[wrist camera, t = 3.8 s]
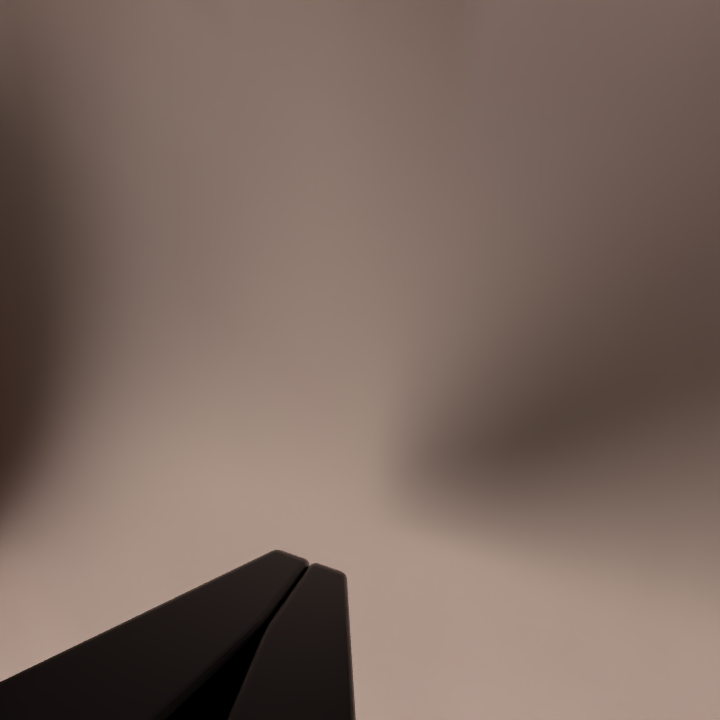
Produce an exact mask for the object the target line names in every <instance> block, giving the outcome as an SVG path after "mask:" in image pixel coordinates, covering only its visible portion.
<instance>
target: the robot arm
mask: <svg viewBox="0 0 720 720" xmlns="http://www.w3.org/2000/svg"><path fill="white" fill-rule="evenodd" d="M0 720H356V719H355V703H354V686H353V670H352V654H351V638H350V622H349V606H348V589H347V578H346V575H345V574H344V573H343V572H341V571H338V570H335V569H333V568H330V567H327V566H324V565H321V564H318V563H314V564H311V565H310V566H309V562H308V561H307V560H306V559H304V558H301V557H298V556H296V555H293V554H290V553H287V552H284V551H281V550H274V551H271V552H269V553H267V554H265V555H263V556H261V557H259V558H257V559H255V560H252V561H250V562H248V563H246V564H244V565H242V566H240V567H238V568H236V569H234V570H232V571H230V572H228V573H225V574H223V575H221V576H219V577H217V578H215V579H213V580H211V581H209V582H207V583H205V584H203V585H201V586H199V587H196V588H194V589H192V590H190V591H188V592H186V593H184V594H182V595H180V596H178V597H176V598H174V599H172V600H169V601H167V602H165V603H163V604H161V605H159V606H157V607H155V608H153V609H151V610H149V611H147V612H145V613H143V614H140V615H138V616H136V617H134V618H132V619H130V620H128V621H126V622H124V623H122V624H120V625H118V626H116V627H113V628H111V629H109V630H107V631H105V632H103V633H101V634H99V635H97V636H95V637H93V638H91V639H89V640H87V641H84V642H82V643H80V644H78V645H76V646H74V647H72V648H70V649H68V650H66V651H64V652H62V653H60V654H57V655H55V656H53V657H51V658H49V659H47V660H45V661H43V662H41V663H39V664H37V665H35V666H33V667H31V668H28V669H26V670H24V671H22V672H20V673H18V674H16V675H14V676H12V677H10V678H8V679H6V680H4V681H1V682H0Z"/></svg>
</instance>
